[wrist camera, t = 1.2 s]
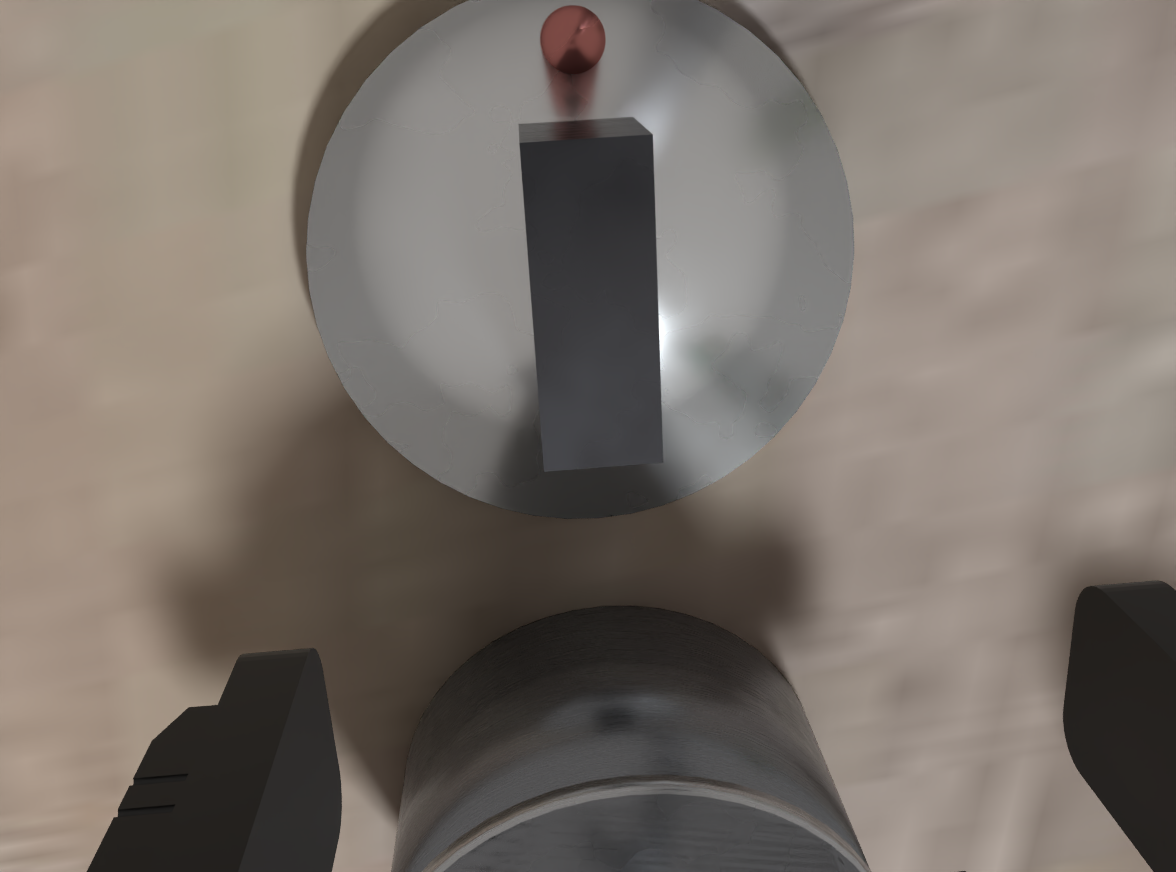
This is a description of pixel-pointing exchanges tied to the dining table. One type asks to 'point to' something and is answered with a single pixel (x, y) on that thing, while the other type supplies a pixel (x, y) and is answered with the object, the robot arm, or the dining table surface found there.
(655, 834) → the cooker pot
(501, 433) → the steel lid
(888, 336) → the dining table surface
